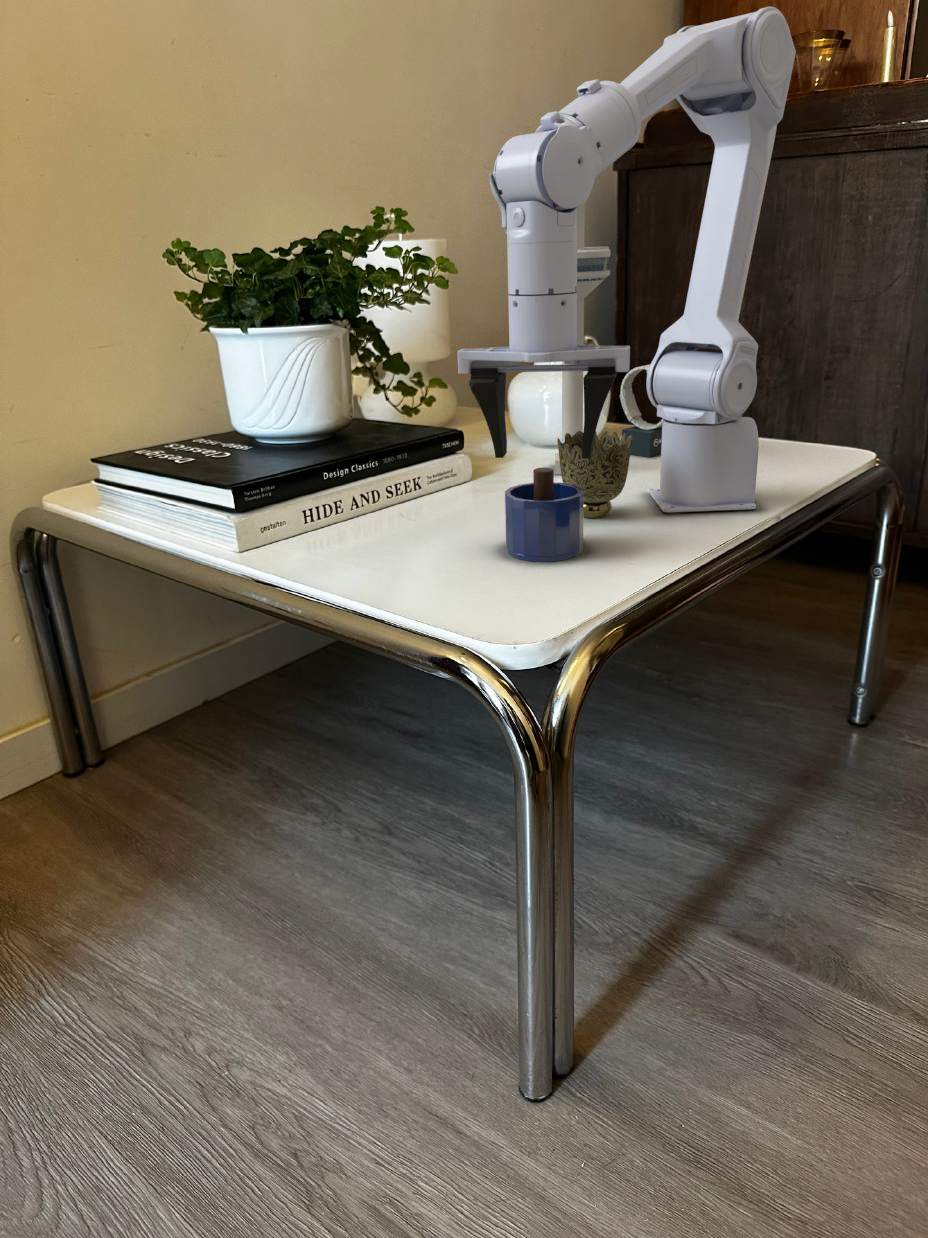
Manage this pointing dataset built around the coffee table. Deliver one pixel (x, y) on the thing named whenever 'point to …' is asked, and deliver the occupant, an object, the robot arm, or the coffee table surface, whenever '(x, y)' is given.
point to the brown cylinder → (543, 484)
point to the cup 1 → (544, 523)
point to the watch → (639, 421)
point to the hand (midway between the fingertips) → (543, 455)
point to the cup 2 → (596, 469)
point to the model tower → (580, 327)
